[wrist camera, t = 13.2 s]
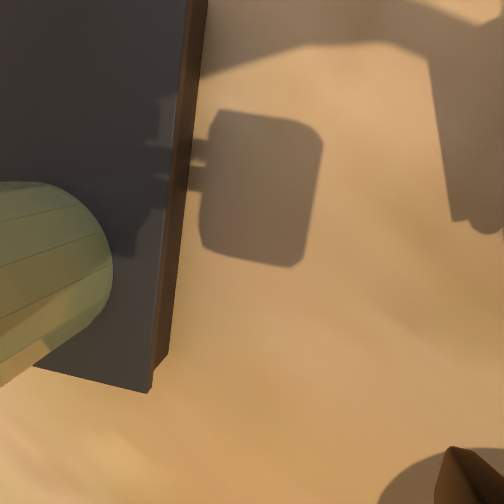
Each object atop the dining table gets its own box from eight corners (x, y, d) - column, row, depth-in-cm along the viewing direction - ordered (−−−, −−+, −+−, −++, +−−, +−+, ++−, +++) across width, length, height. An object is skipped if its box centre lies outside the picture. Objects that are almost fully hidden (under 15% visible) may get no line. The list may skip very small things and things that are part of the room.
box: (216, -8, 19) (191, -38, 16) (173, 361, 23) (146, 395, 20) (-15, -33, 21) (-79, -65, 18) (-18, 316, 25) (-71, 341, 22)
